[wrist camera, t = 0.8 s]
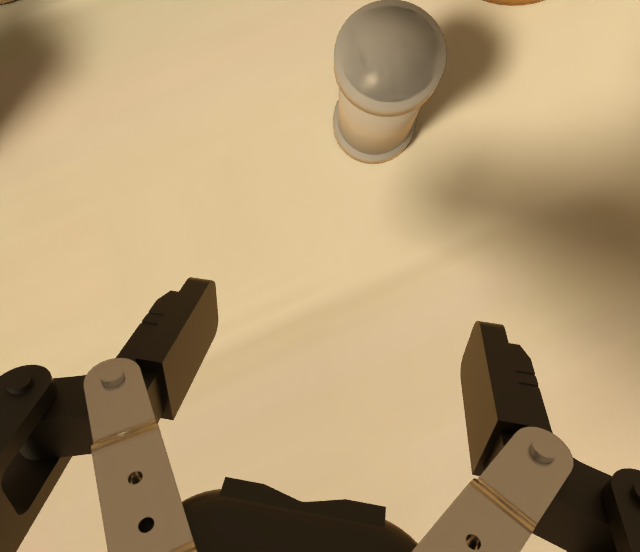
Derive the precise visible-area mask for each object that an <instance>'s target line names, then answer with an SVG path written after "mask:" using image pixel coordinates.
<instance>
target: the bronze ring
mask: <svg viewBox="0 0 640 552" xmlns="http://www.w3.org/2000/svg"><path fill="white" fill-rule="evenodd" d="M484 1H487V2H490V3H495V4H500V5H511V6H512V5H526V4H532V3H537V2H540V1H543V0H484Z"/></svg>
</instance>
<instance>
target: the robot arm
mask: <svg viewBox="0 0 640 552" xmlns="http://www.w3.org/2000/svg"><path fill="white" fill-rule="evenodd" d="M10 1H13V0H0V4H4V3H7V2H10ZM217 326H218V309H217V297H216V286H215V282H214V281H212V280H205V279H199V278H192V277H190V278H188V279H187V281H186V282H185V284H184V285H183V287H182V288H181V290H180V291H179V292H176V291H169V292H168V293H166V294H165V295H164V296H162V297H161V298H159V299H158V300H157V301H156V302H155V303H154V305H153V306H152V308H151V309H150V311H149V313H148V314H147V315H146V316H145V318H144V319H143V320H142V324H141V323H140V325H139V326H138V327H137V329H136V330H135V332H134V333H133V335H132V336H131V337H130V339H129V340H128V342H127V343H126V344H125V346H124V347H123V349H122V350H121V351H120V353H119V354H118V356H117V357H116V358H114V359H109V360H106V361H103V362H101V363H99V364H98V365H96V366H95V367H93V368H92V369H91V370H90V371H89V372H88V374H87V375H83V376H74V377H64V378H53V379H52V376H51V374H50V372H49V371H48V369H46V368H45V367H42V366H38V365H26V366H21V367H17V368H15V369H12V370H10V371H8V372H6V373H4V374H3V375H1V376H0V552H16V551H17V549H18V548H19V546H20V544H21V543H22V541H23V539H24V537H25V536H26V534H27V532H28V531H29V529H30V527H31V526H32V524H33V522H34V520H35V519H36V517H37V515H38V514H39V512H40V510H41V508H42V507H43V505H44V503H45V502H46V500H47V498H48V497H49V495H50V493H51V491H52V490H53V488H54V486H55V485H56V483H57V481H58V479H59V478H60V476H61V474H62V473H63V471H64V469H65V468H66V466H67V464H68V462H69V461H70V459H71V457H72V456H77V455H84V454H92V457H93V464H94V470H95V476H96V482H97V488H98V494H99V500H100V506H101V512H102V518H103V524H104V530H105V536H106V543H107V549H108V552H520V551H521V549H522V548H523V546H524V545H525V543H526V541H527V540H528V538H529V537H530V535H531V534H532V533H533V534H535V535H537V536H539V537H541V538H543V539H545V540H547V541H549V542H551V543H552V544H554V545H556V546H558V547H560V548H562V549H564V550H566V551H567V552H640V471H639V470H636V469H621V470H618V471H617V472H615V473H614V475H613V476H610V475H608V474H606V473H603V472H601V471H599V470H597V469H594V468H592V467H590V466H588V465H585V464H583V463H581V462H579V461H578V460H576V459H575V458H573V457H572V454H571V452H570V450H569V449H568V447H567V446H566V445H565V443H564V442H563V441H562V440H561V439H560V438H558V437H557V436H556V435H554V434H553V433H552V430H551V426H550V423H549V420H548V416H547V413H546V409H545V406H544V403H543V399H542V396H541V392H540V389H539V388H538V382H537V379H536V376H535V372H534V369H533V365H532V362H531V359H530V357H529V356H528V355H527V354H526V352H525V351H524V350H523V349H522V347H521V346H520V345H517V344H511V343H508V339H507V335H506V331H505V328H504V326H503V325H501V324H494V323H487V322H481V321H477V322H476V323H475V324H474V327H473V329H472V332H471V335H470V338H469V341H468V344H467V346H466V349H465V352H464V355H463V358H462V363H461V385H462V393H463V402H464V410H465V418H466V427H467V435H468V443H469V452H470V460H471V468H472V475H477V476H480V477H479V478H478V479H475V478H474V479H473V480H472V481H471V482H470V483H469V484H468V485H467V486H466V487H465V489H464V490H463V491H462V492H461V493H460V495H459V496H458V497H457V498H456V499H455V500H454V502H453V503H452V504H451V505H450V506H449V508H448V509H447V510H446V511H445V512H444V514H443V515H442V516H441V517H440V518H439V520H438V521H437V522H436V523H435V524H434V526H433V527H432V528H431V529H430V530H429V532H428V533H427V534H426V535H425V536H424V538H423V539H422V540H421V541H420V542H419V544H418V543H417V542H416V541H415V540H414V539H413V538H412V537H411V536H409V535H408V534H407V533H406V532H404V531H403V530H402V529H400V528H399V527H397V526H396V525H394V524H393V523H391V522H389V521H387V520H385V512H386V507H383V506H378V505H373V504H367V503H362V502H357V501H351V500H346V499H344V500H330V501H316V502H301V501H298V500H296V499H294V498H292V497H290V496H288V495H286V494H284V493H281V492H279V491H277V490H275V489H273V488H271V487H269V486H267V485H265V484H260V483H255V482H250V481H244V480H239V479H234V478H228V477H225V480H224V483H223V486H222V489H218V490H212V491H207V492H203V493H200V494H197V495H195V496H192V497H190V498H188V499H186V500H184V501H183V502H181V498H180V495H179V492H178V488H177V485H176V482H175V479H174V475H173V472H172V469H171V465H170V462H169V459H168V455H167V452H166V449H165V446H164V442H163V439H162V436H161V432H160V429H159V426H158V422H159V420H160V418H164V419H169V420H174V418H175V416H176V414H177V412H178V410H179V408H180V406H181V404H182V402H183V400H184V398H185V396H186V394H187V392H188V390H189V388H190V386H191V384H192V382H193V380H194V377H195V375H196V373H197V371H198V369H199V367H200V365H201V363H202V361H203V359H204V357H205V355H206V353H207V351H208V349H209V347H210V345H211V343H212V341H213V339H214V337H215V334H216V331H217Z"/></svg>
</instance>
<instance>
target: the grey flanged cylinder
mask: <svg viewBox="0 0 640 552" xmlns="http://www.w3.org/2000/svg"><path fill="white" fill-rule="evenodd" d="M446 57H447V51H446V43H445V39H444V36H443V33H442V31H441V29H440V27H439V26H438V24H437V23H436V21H435V20H434V19H433V18H432V17H431V16H430V15H429V14H428V13H427V12H426V11H424V10H423V9H421V8H420V7H418V6H416V5H414V4H412V3H409V2H406V1H401V0H381V1H376V2H373V3H370V4H367V5H365V6H363V7H362V8H360V9H358V10H357V11H356V12H354V13H353V14H352V15H351V16H350V17H349V18H348V19H347V20H346V22H345V23H344V24H343V26H342V28H341V29H340V31H339V33H338V36H337V39H336V43H335V49H334V72H335V77H336V81H337V84H338V86H339V100H338V101H337V104H336V106H335V110H334V117H333V128H334V134H335V137H336V140H337V142H338V144H339V146H340V147H341V148H342V150H343V151H344V152H345V153H346V154H347V155H349V156H350V157H351V158H353V159H355V160H357V161H360V162H363V163H368V164H379V163H384V162H387V161H389V160H392V159H393V158H395V157H397V156H398V155H399V154H400V153H401V152H402V151H403V150H404V149H405V148H406V147H407V145H408V143H409V142H410V140H411V138H412V136H413V133H414V130H415V126H416V116H417V114H418V112H419V109H420V107H421V105H423V104H424V103H425V102H426V101H427V100H428V99H429V98H430V96H431V95H432V94H433V92H434V91H435V89H436V87H437V85H438V83H439V81H440V79H441V77H442V74H443V72H444V69H445V65H446Z"/></svg>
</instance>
